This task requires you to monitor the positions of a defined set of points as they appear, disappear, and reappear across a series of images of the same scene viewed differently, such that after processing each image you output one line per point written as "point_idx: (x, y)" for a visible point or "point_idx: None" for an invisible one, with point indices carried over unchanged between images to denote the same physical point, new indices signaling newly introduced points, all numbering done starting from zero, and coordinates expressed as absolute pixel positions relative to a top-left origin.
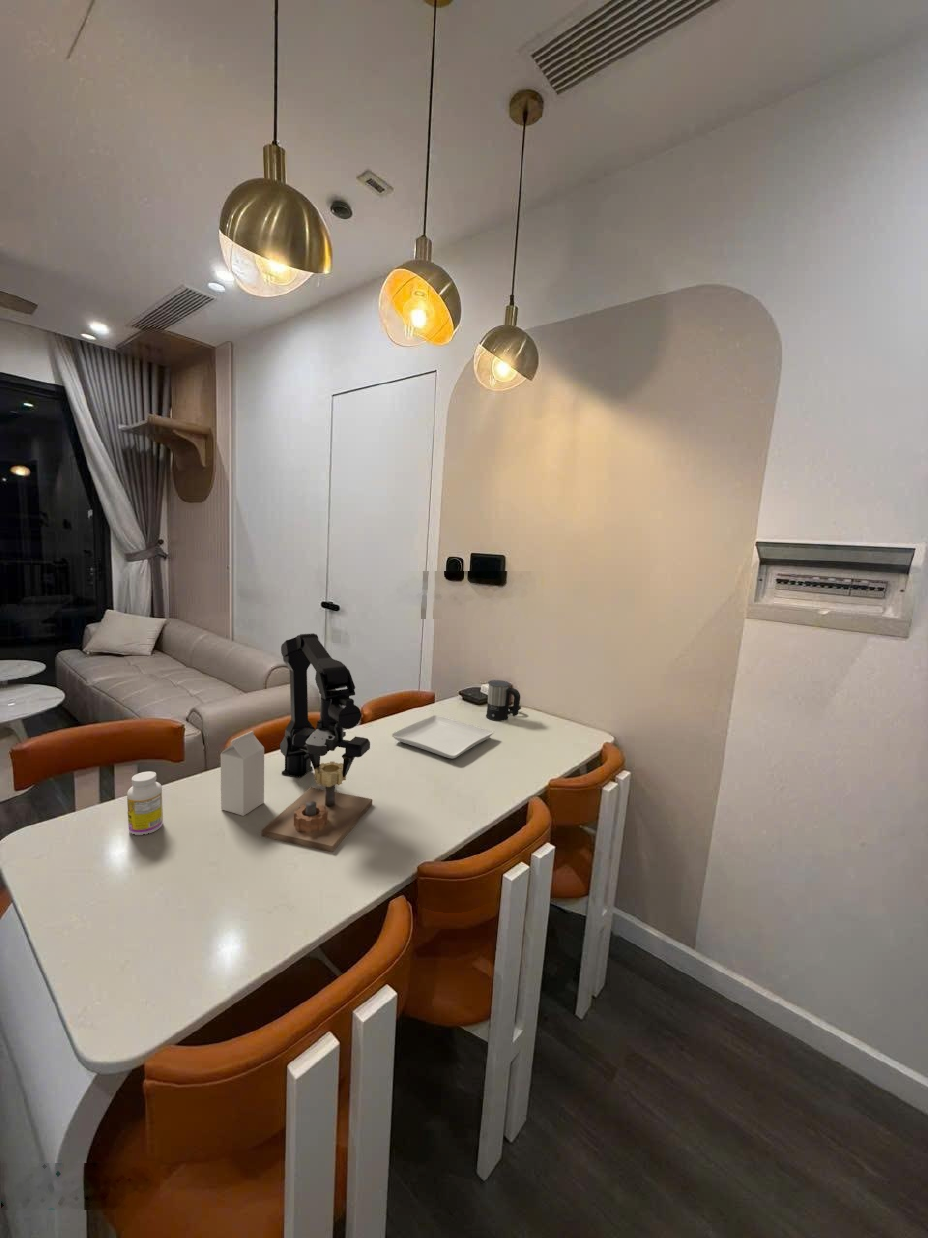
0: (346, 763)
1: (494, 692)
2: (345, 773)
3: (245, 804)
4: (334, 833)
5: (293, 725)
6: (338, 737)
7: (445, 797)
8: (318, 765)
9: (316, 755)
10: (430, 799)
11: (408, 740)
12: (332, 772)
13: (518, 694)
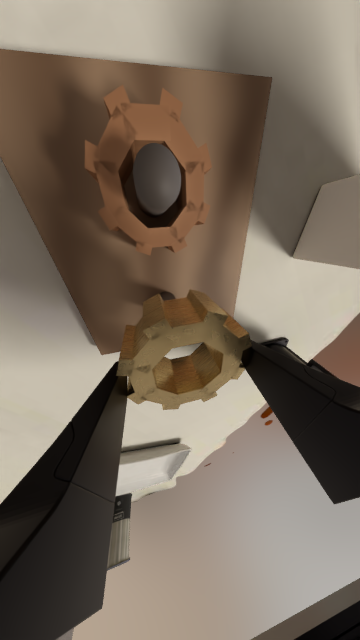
0: (53, 456)
1: (115, 549)
2: (105, 378)
3: (351, 184)
4: (38, 168)
5: None
6: None
7: (11, 417)
8: (246, 361)
9: (294, 401)
10: (27, 403)
11: (163, 455)
12: (159, 354)
13: None
